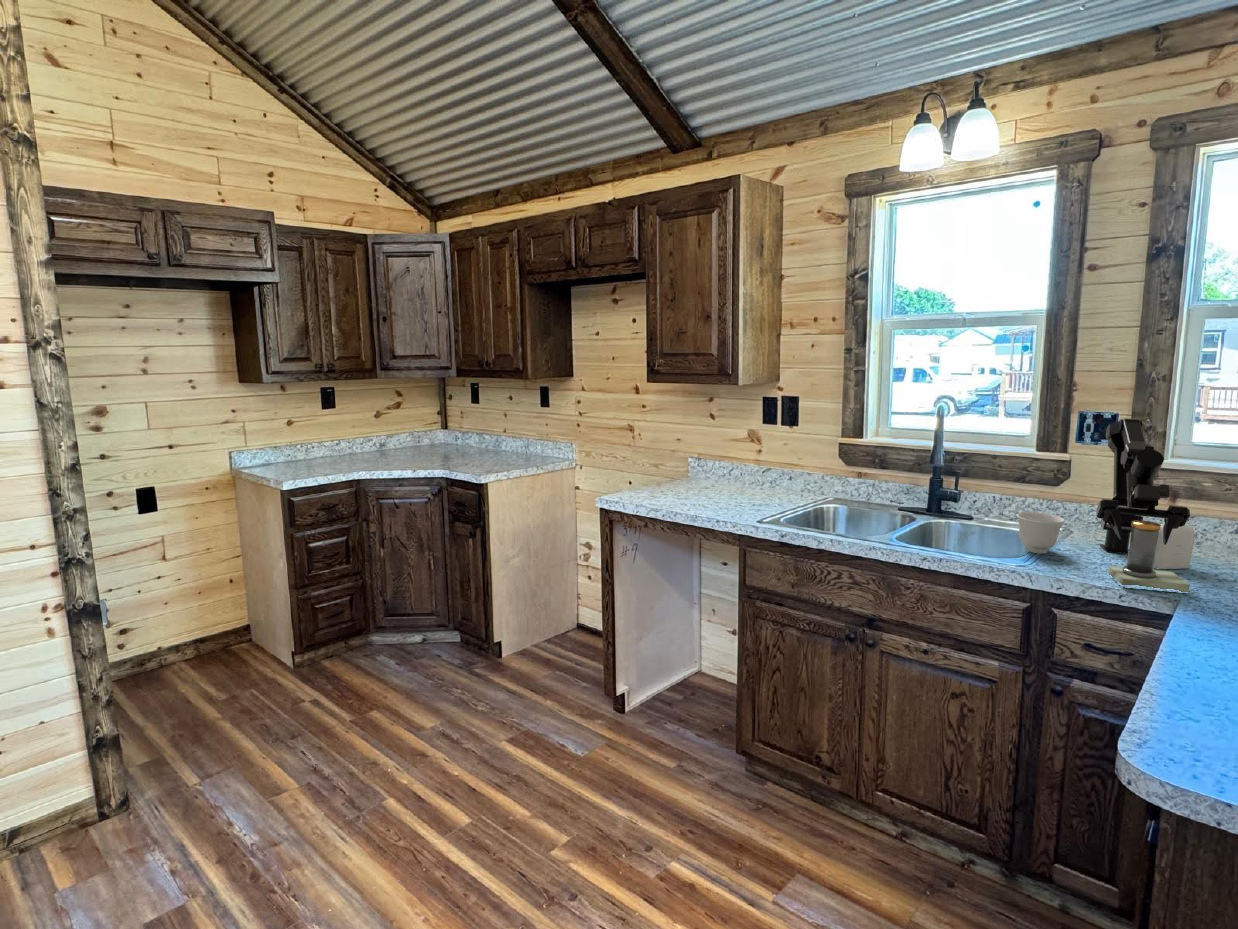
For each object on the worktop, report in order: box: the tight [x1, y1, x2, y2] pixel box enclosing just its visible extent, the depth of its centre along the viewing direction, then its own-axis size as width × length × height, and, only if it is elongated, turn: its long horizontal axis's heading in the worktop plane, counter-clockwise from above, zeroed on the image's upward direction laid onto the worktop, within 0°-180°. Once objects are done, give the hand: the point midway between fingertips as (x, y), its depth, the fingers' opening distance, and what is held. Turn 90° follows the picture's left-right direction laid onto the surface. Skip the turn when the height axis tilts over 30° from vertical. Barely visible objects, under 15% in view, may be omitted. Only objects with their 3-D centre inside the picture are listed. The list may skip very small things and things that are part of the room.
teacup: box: [1015, 511, 1066, 554], centre depth 208 cm, size 12×15×10 cm
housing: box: [1122, 520, 1161, 578], centre depth 180 cm, size 7×7×13 cm
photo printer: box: [1153, 523, 1196, 570], centre depth 193 cm, size 10×4×12 cm, turn 96°
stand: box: [1107, 565, 1191, 592], centre depth 181 cm, size 10×14×2 cm
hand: (1143, 541), depth 181 cm, fingers open, 9 cm apart
